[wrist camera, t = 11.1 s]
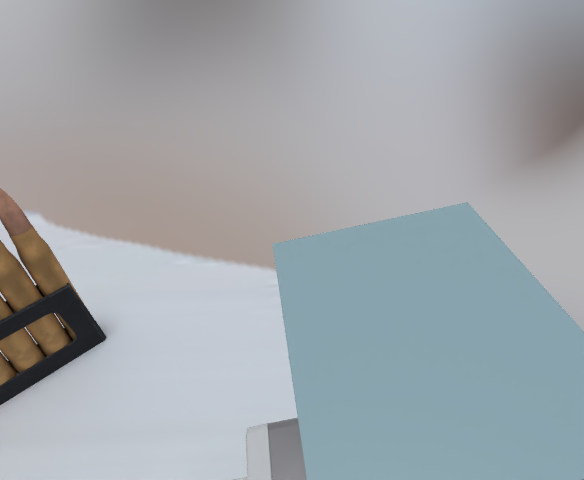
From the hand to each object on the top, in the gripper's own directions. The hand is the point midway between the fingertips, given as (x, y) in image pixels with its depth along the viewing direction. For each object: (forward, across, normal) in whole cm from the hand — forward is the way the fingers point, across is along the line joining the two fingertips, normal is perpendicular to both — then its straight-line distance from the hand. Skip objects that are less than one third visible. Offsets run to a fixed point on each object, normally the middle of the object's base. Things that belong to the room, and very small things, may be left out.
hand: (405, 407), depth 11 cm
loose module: (-1, 0, +5) cm, 5 cm away
